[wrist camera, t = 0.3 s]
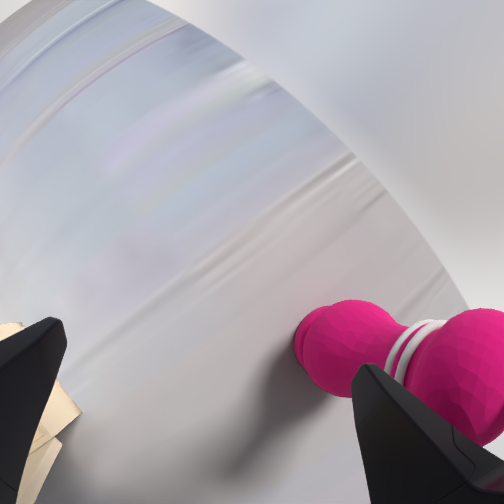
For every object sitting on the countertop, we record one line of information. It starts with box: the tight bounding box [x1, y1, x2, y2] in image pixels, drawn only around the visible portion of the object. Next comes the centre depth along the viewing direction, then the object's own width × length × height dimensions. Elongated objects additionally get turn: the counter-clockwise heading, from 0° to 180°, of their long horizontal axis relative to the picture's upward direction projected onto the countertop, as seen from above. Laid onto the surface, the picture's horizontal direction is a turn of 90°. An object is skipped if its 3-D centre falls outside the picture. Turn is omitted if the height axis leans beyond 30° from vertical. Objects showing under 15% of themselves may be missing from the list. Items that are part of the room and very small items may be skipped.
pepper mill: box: [294, 300, 504, 447], centre depth 13 cm, size 7×7×20 cm
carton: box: [0, 323, 82, 455], centre depth 15 cm, size 10×14×6 cm
